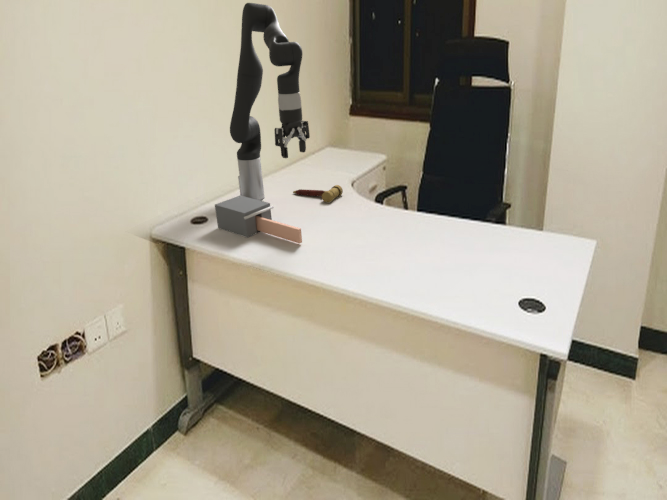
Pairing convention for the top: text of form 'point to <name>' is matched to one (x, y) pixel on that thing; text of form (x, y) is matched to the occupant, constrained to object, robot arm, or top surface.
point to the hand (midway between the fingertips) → (294, 154)
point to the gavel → (322, 193)
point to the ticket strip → (278, 229)
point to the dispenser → (241, 215)
